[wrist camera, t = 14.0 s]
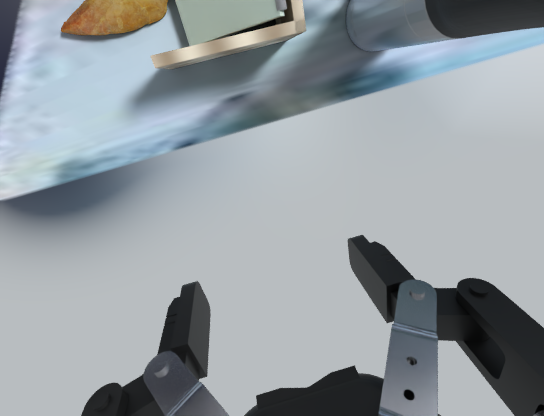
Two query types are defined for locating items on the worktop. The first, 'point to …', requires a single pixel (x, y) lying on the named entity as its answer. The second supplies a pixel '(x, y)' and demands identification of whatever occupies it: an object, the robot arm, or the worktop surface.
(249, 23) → the trapdoor
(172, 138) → the worktop surface
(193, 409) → the robot arm
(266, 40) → the trapdoor frame
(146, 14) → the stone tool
